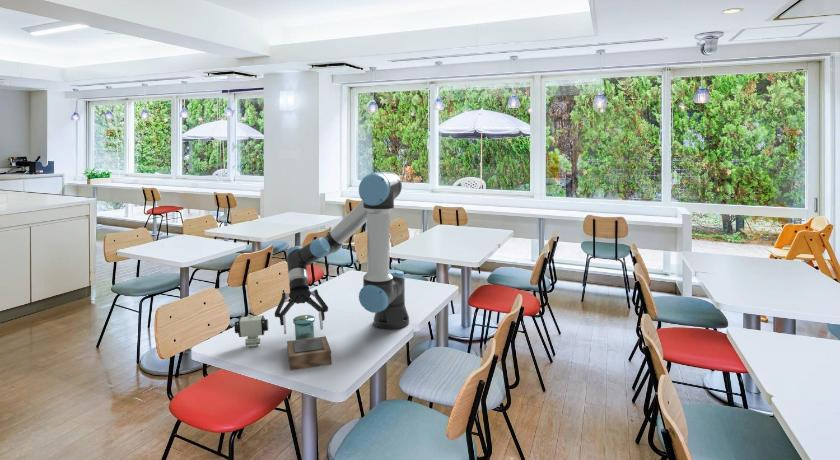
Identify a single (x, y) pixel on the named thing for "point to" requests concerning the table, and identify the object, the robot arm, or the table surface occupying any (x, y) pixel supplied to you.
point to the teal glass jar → (304, 327)
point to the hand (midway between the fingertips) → (303, 330)
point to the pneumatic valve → (251, 329)
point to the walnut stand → (309, 353)
